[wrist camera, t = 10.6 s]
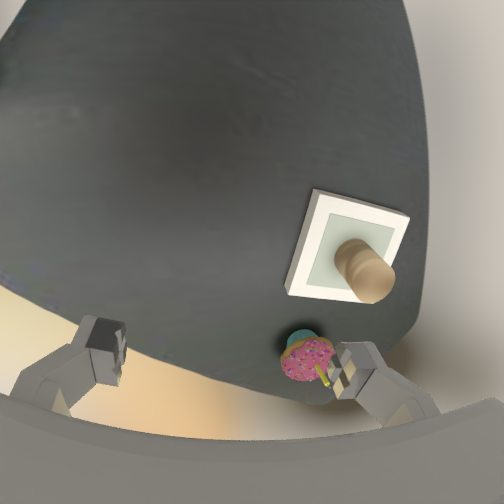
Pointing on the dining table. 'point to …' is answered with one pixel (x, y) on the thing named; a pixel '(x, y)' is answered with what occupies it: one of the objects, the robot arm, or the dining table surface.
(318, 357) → the cupcake
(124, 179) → the dining table surface
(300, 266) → the base slab
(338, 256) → the bread loaf
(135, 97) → the dining table surface
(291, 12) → the dining table surface
